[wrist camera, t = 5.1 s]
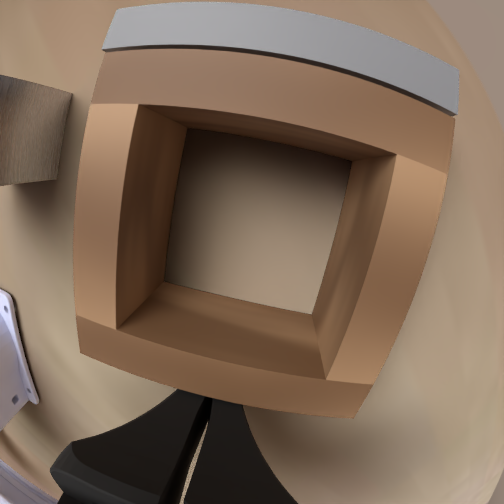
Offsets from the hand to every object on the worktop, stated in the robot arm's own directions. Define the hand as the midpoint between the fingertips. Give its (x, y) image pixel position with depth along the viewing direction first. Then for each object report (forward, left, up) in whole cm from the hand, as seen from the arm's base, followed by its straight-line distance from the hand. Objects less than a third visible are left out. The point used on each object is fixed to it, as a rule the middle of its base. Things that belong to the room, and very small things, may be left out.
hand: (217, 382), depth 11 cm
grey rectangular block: (+9, +11, -2) cm, 14 cm away
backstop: (+12, 0, -1) cm, 12 cm away
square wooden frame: (+6, 0, -1) cm, 6 cm away
